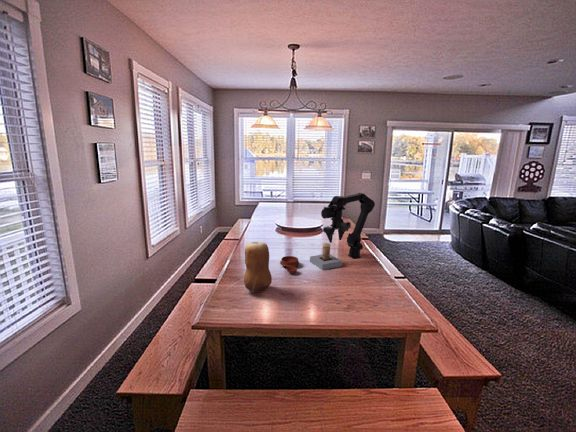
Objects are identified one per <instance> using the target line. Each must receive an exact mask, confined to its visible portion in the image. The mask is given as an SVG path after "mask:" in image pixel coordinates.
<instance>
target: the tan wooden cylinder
mask: <svg viewBox="0 0 576 432" xmlns="http://www.w3.org/2000/svg"><path fill="white" fill-rule="evenodd" d="M330 254H331V244H330V243H322V253H321V255H322V260H323V261H329V259H330Z"/></svg>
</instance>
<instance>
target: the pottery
mask: <svg viewBox="0 0 576 432" xmlns="http://www.w3.org/2000/svg"><path fill="white" fill-rule="evenodd" d="M279 264H280V265H281V266H284V267H285V266H286V267H285V268H286V271H287V272H288V274H289V275H295V273H296V272H297V271H298V268H297V266H299V265H300V261H299V258H298V257H296V256H293V255H285V256H282V257H281V260H280V262H279Z"/></svg>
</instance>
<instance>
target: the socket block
mask: <svg viewBox="0 0 576 432" xmlns="http://www.w3.org/2000/svg"><path fill="white" fill-rule="evenodd" d="M309 263H311V264H312V265H314V266H315V265H316V267H317V268H318V267H319V268H318V269H320V270H321V269H322V270H321V271H325V270H324V269H326V270H330V268H331V269H335V267H336V268H339V267H343V266H342V265H343V260H341V259H339V258H338V257H336V256H334V255H332V254H331V253H330V259H329V261H323V260H322V254H317V255H316V254H315V255H311V256H309Z"/></svg>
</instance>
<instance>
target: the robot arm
mask: <svg viewBox="0 0 576 432" xmlns="http://www.w3.org/2000/svg"><path fill="white" fill-rule="evenodd" d="M354 202H359V203H360V205H359V206H360V207H359V208H360V213H359V215H358V217H357V221H356V223H355V226H354V228H353V231H352V232H351V233H350V232H349V233H348V235H347V237H346V244H347V247H349V251H348V254H347V257H349V258H352V259H353V260H354V259H360V258H362V256H361V250H363V248H364V245H363V244H362V242H361V241H362V236H361V234H362V231H363V229H364V226H365V223H366V221H367V218H368V216H369V214H370V213H371V212H372V211H373V210H374V208H375V205H376V203H375V201H374V200H373V199H371V198H370V197H369V196H367V195H366V194H365V193H362V192H357V193H354V194H353V193H352V194H349V195H345V196H343V195H335V196H333V197H332V199H331V201H330V202H329V204H328V205H327V206H324V207H323V209H322V210H321V211H320V212H321V213H320V215H321V217H322V218H323V220H324V219H325V220H326V219H330V221H332V222H331V224H330V226H323V228H322V232H323V233H324V234H325V235H326V236H327V239H328V241H329V244H330V243H331V244H332V243H333V237H334V236H333V235H335V232H336V231H337V232H338V239H339V241H342V238H343V236H344V234H345V232H348V231H349V229H351V227H352V226H351V225H352V224H351V222H350V221H347V222H344V221H345V220H344V218H343V211H344V210H346V208H345V207H346V205H348V204H349V203H354ZM344 206H345V207H344Z"/></svg>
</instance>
